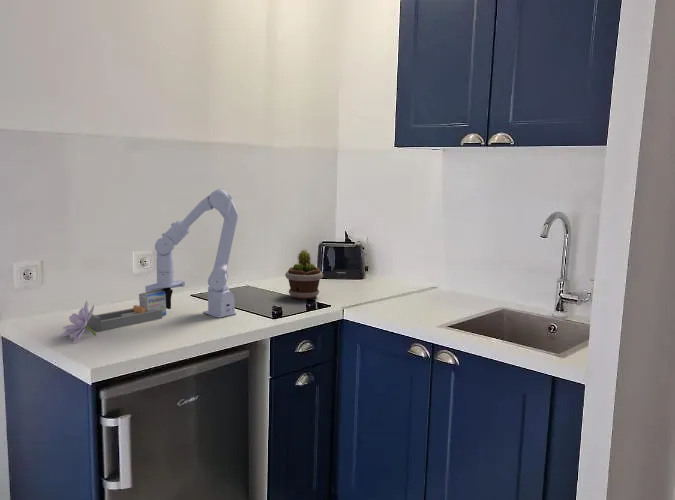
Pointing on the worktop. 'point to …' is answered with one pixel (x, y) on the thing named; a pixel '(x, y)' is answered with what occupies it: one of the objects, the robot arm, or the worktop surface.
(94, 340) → the worktop surface
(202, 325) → the worktop surface
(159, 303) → the medicine box
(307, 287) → the flowerpot
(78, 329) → the water lily
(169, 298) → the robot arm
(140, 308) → the pusher
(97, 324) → the gray tray
